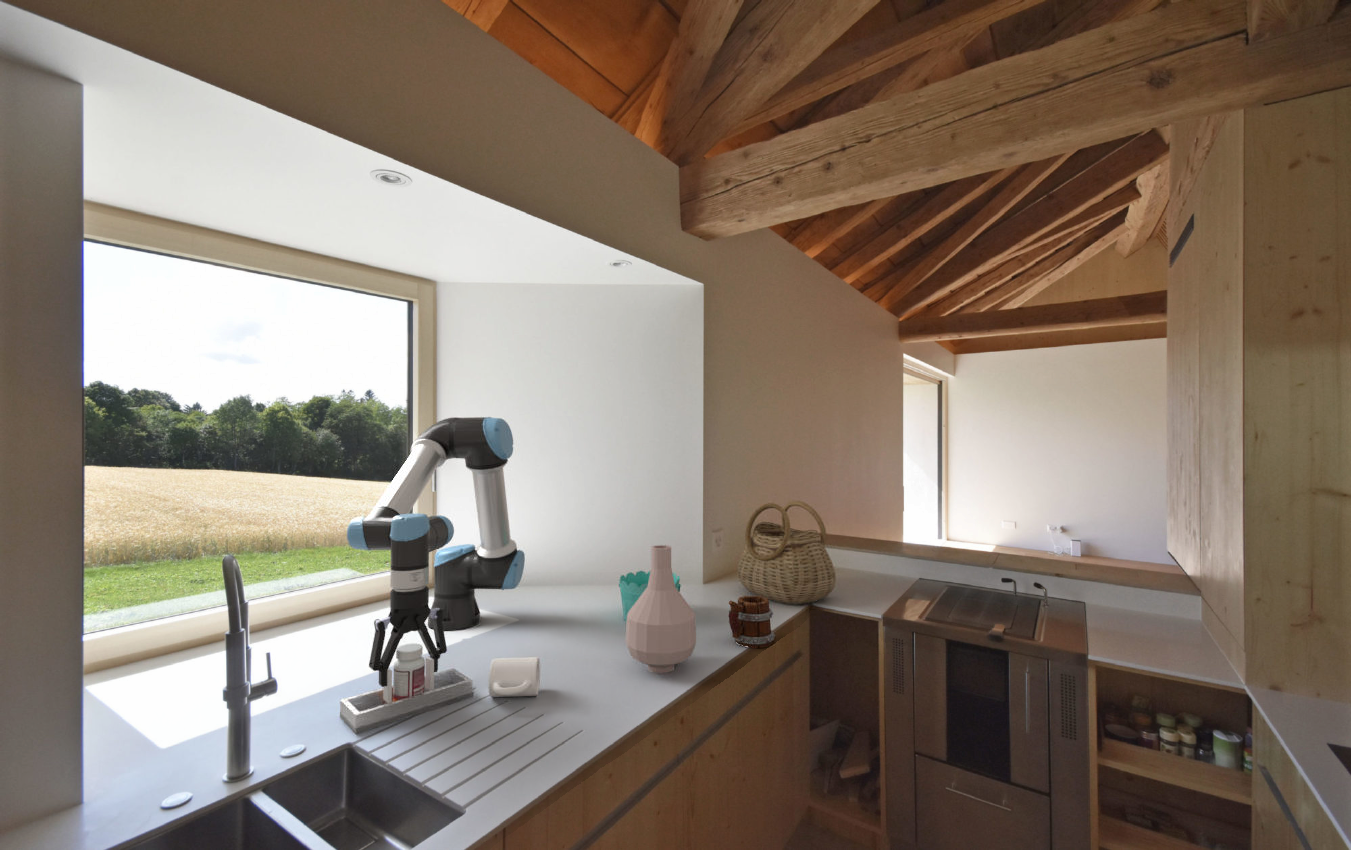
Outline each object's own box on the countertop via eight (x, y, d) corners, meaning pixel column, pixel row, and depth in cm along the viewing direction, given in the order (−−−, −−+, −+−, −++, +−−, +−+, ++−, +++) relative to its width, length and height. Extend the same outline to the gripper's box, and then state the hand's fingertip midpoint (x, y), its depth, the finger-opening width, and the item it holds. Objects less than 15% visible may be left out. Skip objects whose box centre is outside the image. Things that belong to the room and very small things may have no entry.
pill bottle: (423, 692, 134) (424, 640, 134) (425, 703, 129) (426, 650, 129) (392, 696, 132) (393, 644, 132) (393, 709, 126) (394, 654, 126)
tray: (355, 733, 118) (355, 715, 118) (339, 716, 125) (339, 699, 125) (473, 696, 135) (473, 680, 135) (453, 683, 142) (453, 667, 142)
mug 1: (496, 687, 140) (496, 652, 140) (540, 686, 141) (540, 651, 141) (484, 711, 128) (484, 673, 128) (532, 710, 129) (532, 672, 129)
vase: (643, 687, 140) (644, 556, 140) (614, 662, 155) (615, 543, 156) (709, 674, 148) (709, 549, 148) (675, 650, 164) (676, 538, 164)
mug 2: (785, 641, 171) (779, 589, 169) (750, 661, 162) (744, 607, 160) (755, 630, 180) (749, 581, 178) (720, 649, 171) (713, 598, 169)
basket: (850, 600, 213) (850, 504, 213) (795, 614, 197) (795, 509, 197) (777, 580, 241) (777, 495, 242) (724, 591, 225) (724, 499, 225)
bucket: (609, 621, 189) (609, 579, 189) (635, 606, 205) (635, 567, 206) (666, 629, 181) (666, 586, 181) (688, 612, 198) (688, 572, 198)
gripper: (363, 600, 120) (362, 715, 120) (464, 582, 135) (463, 685, 135) (350, 592, 126) (350, 703, 126) (449, 576, 140) (449, 675, 140)
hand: (409, 694), depth 130 cm, fingers open, 8 cm apart
